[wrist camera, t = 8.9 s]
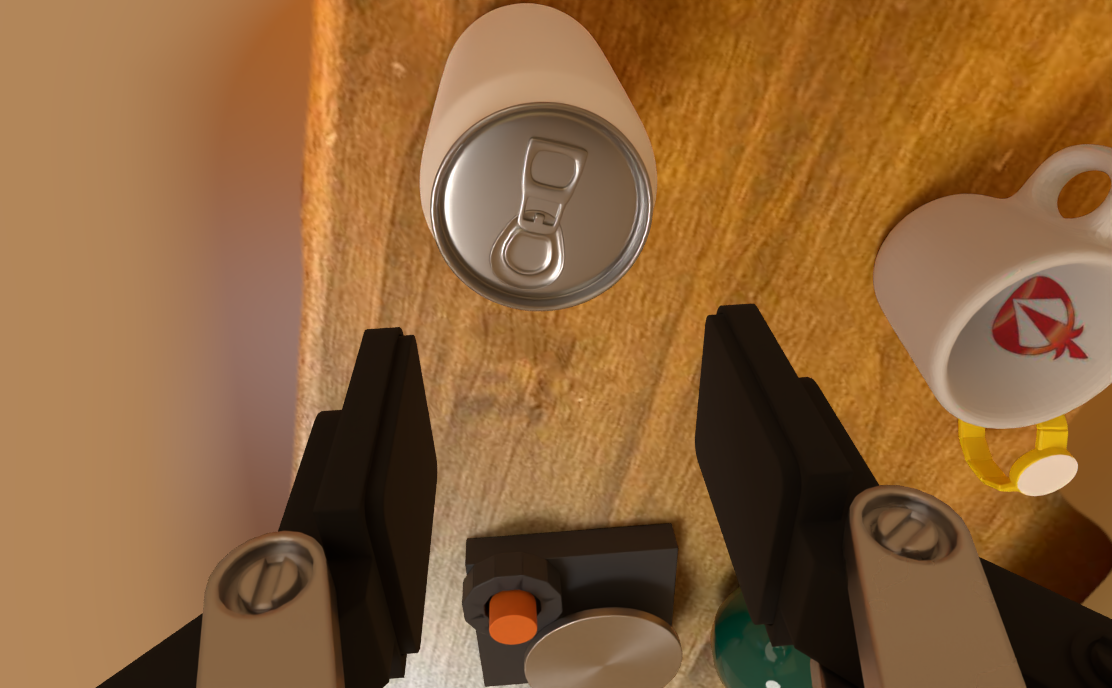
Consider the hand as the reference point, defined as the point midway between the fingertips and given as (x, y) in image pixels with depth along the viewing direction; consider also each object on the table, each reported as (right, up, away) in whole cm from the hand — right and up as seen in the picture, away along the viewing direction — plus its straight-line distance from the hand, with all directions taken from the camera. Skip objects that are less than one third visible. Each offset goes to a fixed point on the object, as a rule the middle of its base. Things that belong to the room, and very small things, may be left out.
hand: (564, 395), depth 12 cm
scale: (+1, -15, +33) cm, 37 cm away
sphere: (+13, -15, +34) cm, 40 cm away
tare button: (-3, -14, +28) cm, 32 cm away
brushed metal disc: (+3, -18, +31) cm, 36 cm away
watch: (+22, -2, +27) cm, 35 cm away
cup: (+18, +6, +21) cm, 28 cm away
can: (-1, +11, +16) cm, 20 cm away
